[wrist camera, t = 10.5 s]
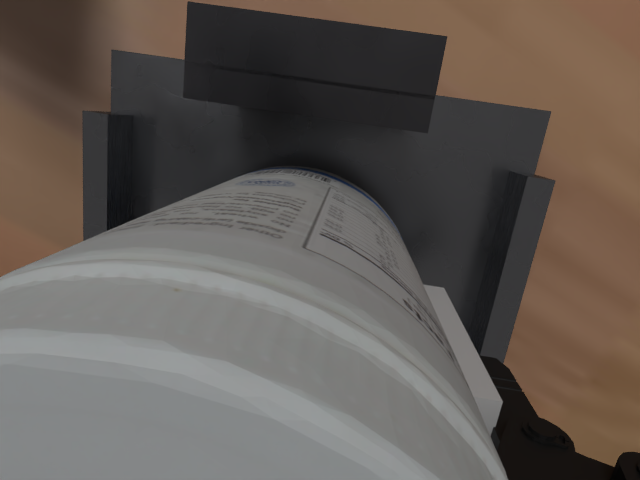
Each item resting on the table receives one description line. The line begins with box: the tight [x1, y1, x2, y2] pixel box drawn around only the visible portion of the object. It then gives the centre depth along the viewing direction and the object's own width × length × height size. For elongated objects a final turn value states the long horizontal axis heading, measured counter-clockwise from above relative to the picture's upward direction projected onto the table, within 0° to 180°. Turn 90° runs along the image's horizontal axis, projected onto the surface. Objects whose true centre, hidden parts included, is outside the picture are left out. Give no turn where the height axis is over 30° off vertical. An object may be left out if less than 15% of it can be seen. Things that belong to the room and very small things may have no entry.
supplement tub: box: [0, 166, 508, 480], centre depth 11 cm, size 10×10×15 cm
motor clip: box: [83, 2, 555, 363], centre depth 16 cm, size 27×18×12 cm, turn 172°
